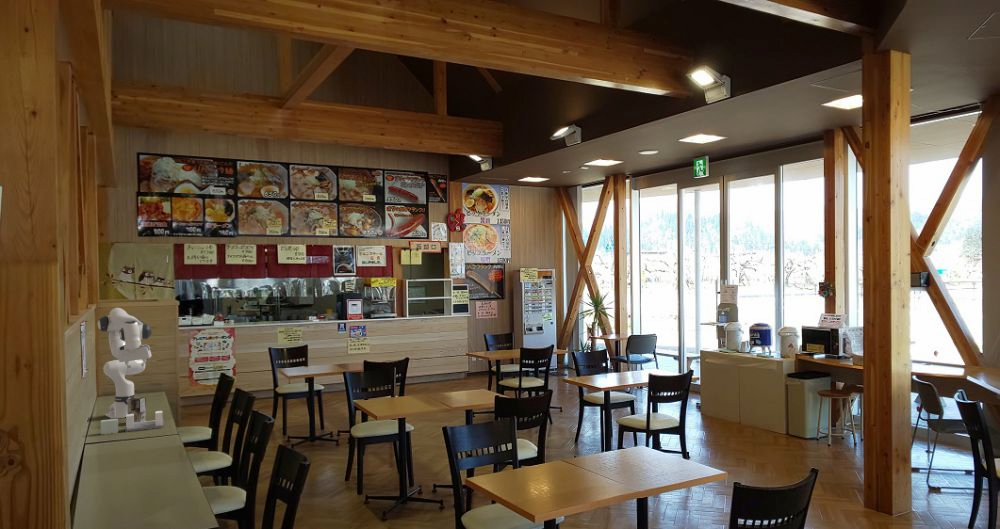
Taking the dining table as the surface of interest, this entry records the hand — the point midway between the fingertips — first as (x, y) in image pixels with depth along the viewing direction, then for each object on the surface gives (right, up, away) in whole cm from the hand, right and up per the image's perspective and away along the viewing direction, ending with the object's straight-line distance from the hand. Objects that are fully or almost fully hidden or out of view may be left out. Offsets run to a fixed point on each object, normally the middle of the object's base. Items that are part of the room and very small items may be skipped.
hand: (136, 367), depth 430 cm
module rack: (+10, -37, -8) cm, 39 cm away
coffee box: (-4, -38, +9) cm, 39 cm away
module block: (-6, -38, -19) cm, 43 cm away
